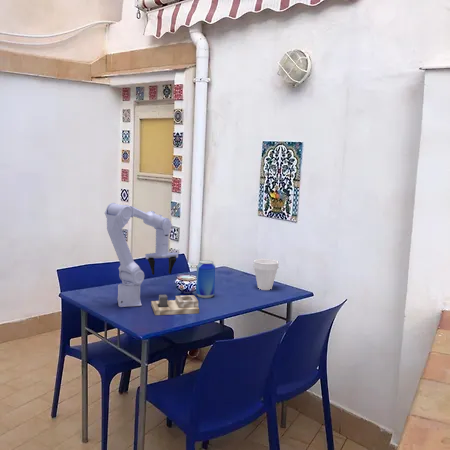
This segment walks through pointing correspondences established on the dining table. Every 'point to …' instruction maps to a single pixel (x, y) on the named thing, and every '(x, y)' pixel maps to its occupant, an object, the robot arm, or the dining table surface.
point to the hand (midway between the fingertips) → (161, 273)
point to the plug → (163, 300)
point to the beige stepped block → (177, 306)
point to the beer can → (205, 279)
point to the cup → (265, 272)
